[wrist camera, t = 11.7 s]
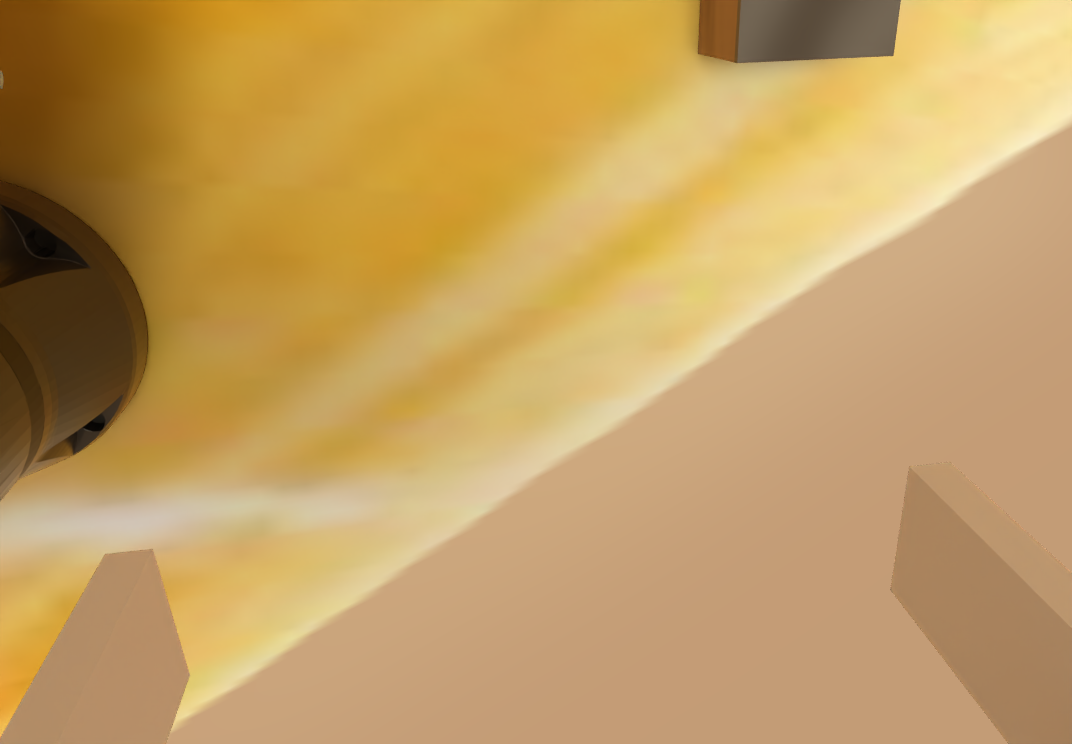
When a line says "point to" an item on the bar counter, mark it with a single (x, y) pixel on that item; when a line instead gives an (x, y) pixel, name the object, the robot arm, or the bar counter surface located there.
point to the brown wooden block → (797, 29)
